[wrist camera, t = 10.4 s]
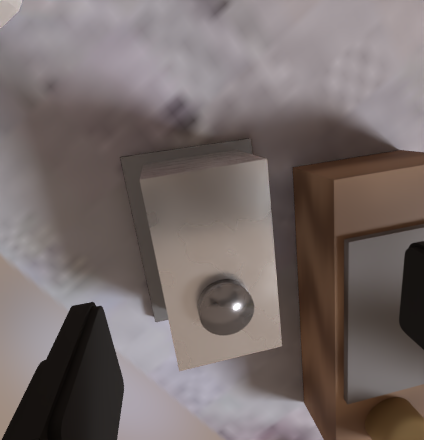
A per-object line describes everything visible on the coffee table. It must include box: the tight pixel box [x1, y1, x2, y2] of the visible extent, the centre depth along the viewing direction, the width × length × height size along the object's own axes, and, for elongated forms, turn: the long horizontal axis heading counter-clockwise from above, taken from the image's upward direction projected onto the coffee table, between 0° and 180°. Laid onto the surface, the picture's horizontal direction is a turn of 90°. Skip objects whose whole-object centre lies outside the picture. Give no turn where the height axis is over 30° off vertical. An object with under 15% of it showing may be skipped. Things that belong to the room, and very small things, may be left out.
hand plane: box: [293, 150, 424, 440], centre depth 18 cm, size 18×7×8 cm, turn 7°
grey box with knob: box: [140, 150, 282, 371], centre depth 16 cm, size 9×5×6 cm, turn 8°
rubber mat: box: [120, 138, 252, 322], centre depth 18 cm, size 10×7×1 cm
